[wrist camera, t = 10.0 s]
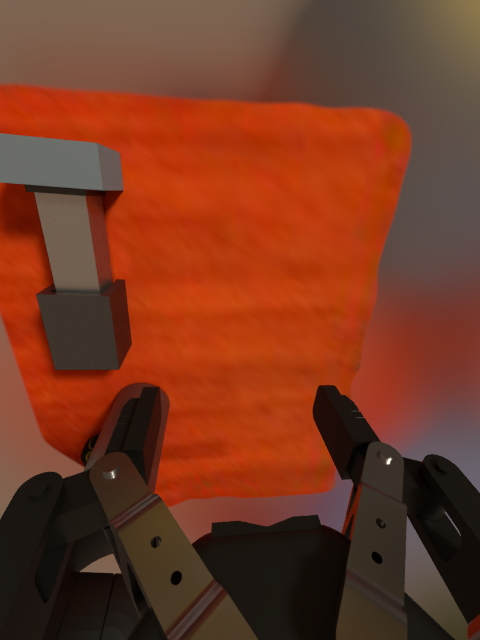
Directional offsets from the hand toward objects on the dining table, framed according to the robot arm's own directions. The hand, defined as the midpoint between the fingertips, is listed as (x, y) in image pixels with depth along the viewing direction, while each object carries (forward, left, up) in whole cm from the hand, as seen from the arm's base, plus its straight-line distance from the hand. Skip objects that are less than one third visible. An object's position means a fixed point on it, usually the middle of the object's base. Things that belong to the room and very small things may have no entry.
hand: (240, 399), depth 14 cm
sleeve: (-16, +10, -28) cm, 34 cm away
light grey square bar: (-7, +16, -28) cm, 33 cm away
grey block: (-1, +20, -28) cm, 35 cm away
